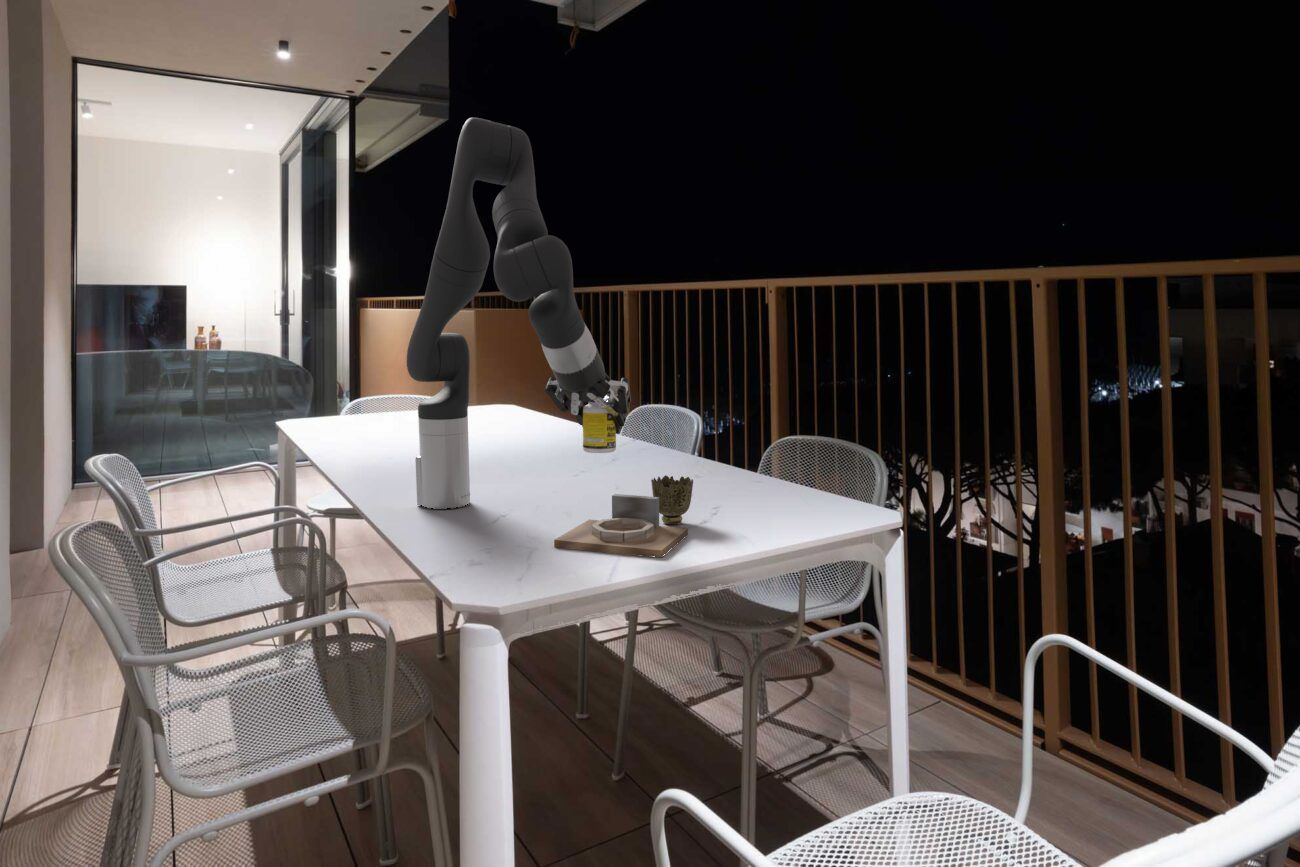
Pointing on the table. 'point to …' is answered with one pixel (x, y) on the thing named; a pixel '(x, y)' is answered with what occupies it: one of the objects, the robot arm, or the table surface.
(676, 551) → the table surface
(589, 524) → the socket board
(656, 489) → the cup
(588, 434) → the supplement bottle
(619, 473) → the table surface
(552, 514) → the table surface
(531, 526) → the table surface
